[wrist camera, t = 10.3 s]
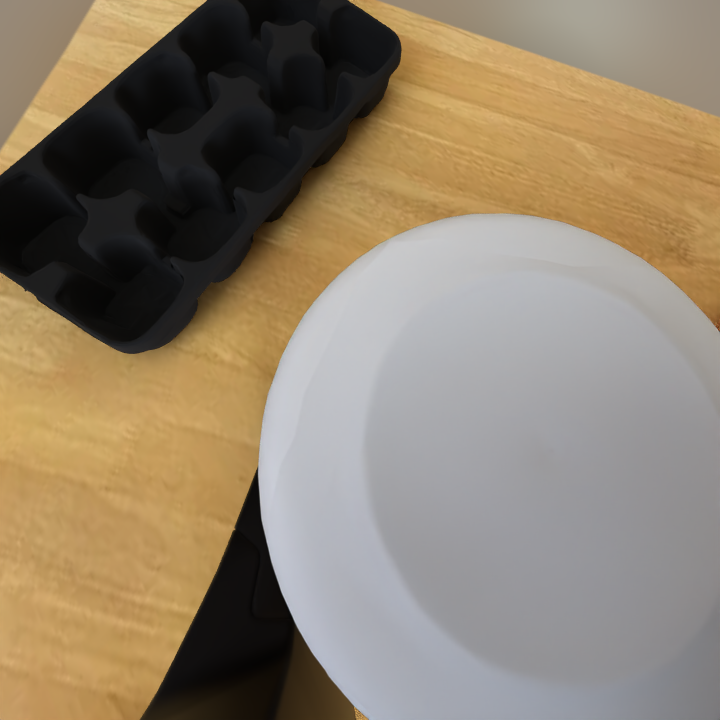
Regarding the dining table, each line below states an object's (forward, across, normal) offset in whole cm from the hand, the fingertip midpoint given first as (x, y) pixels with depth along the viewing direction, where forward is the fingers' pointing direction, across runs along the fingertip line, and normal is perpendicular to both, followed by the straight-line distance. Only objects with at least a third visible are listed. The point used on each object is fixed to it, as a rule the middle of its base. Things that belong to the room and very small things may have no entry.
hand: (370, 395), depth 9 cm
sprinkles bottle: (+4, 0, +6) cm, 7 cm away
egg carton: (+23, +2, -6) cm, 23 cm away
